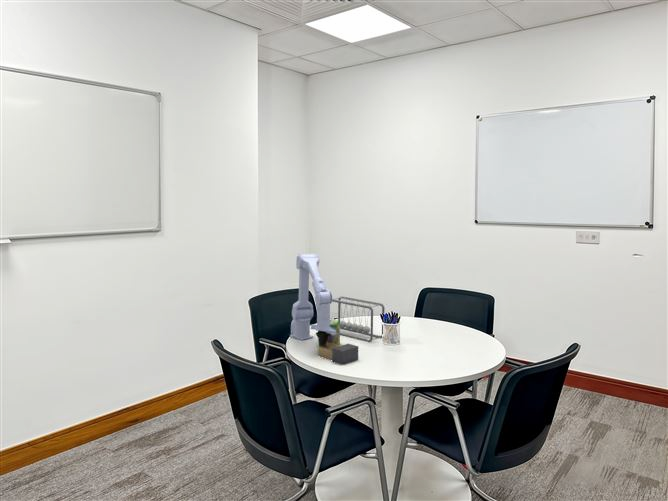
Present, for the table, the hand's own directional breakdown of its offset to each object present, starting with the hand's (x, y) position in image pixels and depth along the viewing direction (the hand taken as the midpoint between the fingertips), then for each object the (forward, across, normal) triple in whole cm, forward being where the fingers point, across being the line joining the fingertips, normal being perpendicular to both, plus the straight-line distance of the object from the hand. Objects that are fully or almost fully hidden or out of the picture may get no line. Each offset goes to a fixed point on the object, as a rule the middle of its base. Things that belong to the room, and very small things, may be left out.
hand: (323, 347), depth 230 cm
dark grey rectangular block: (+3, +11, 0) cm, 11 cm away
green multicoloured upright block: (+3, -7, +11) cm, 14 cm away
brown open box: (+3, +6, 0) cm, 6 cm away
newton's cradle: (+3, -11, +33) cm, 35 cm away
